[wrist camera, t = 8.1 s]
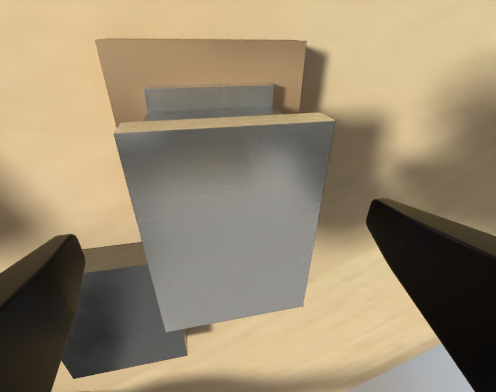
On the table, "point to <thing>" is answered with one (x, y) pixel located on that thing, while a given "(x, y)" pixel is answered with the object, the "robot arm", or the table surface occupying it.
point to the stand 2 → (198, 68)
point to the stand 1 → (118, 315)
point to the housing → (225, 198)
